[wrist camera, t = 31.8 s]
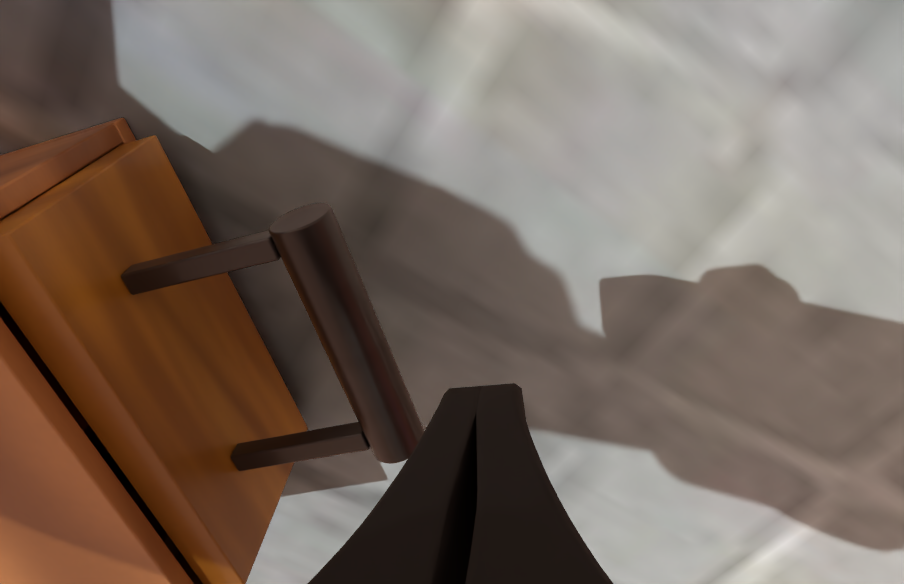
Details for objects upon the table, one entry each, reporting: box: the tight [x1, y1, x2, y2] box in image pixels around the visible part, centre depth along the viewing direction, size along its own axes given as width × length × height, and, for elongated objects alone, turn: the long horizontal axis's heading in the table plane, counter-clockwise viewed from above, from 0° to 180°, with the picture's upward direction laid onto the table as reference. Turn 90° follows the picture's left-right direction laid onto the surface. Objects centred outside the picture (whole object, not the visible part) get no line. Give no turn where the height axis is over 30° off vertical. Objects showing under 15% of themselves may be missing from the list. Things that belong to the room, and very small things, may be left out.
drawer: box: [0, 135, 424, 584], centre depth 20 cm, size 19×11×6 cm, turn 107°
